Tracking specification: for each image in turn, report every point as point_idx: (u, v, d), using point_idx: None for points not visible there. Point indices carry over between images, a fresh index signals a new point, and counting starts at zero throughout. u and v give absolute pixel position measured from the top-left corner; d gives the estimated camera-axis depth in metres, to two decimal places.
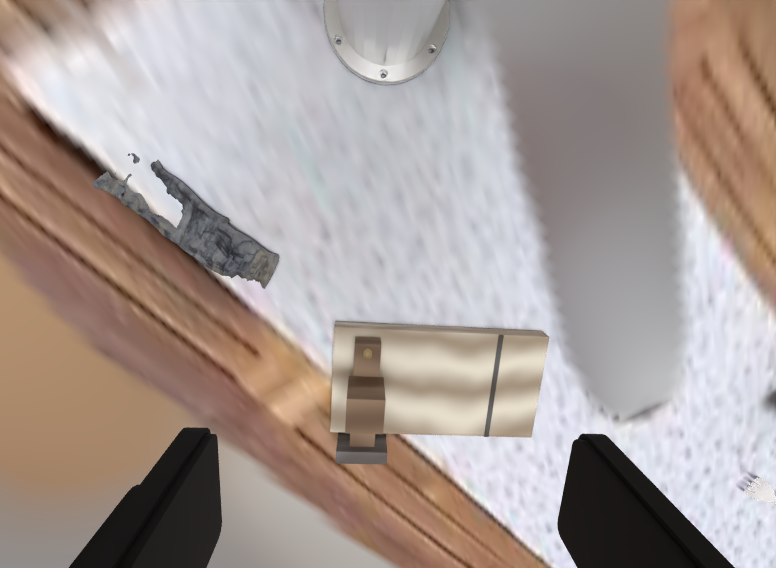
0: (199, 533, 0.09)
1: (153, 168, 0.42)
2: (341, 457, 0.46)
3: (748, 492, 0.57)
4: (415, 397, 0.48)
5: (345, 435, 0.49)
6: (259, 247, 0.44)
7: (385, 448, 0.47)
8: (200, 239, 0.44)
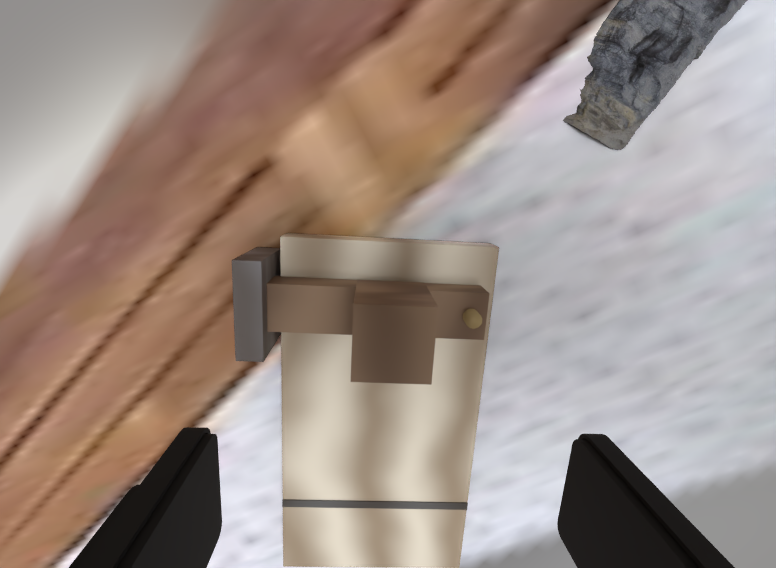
0: (199, 533, 0.09)
1: None
2: (247, 272, 0.22)
3: None
4: (357, 388, 0.27)
5: (275, 267, 0.25)
6: (644, 115, 0.25)
7: (266, 353, 0.24)
8: (666, 0, 0.24)
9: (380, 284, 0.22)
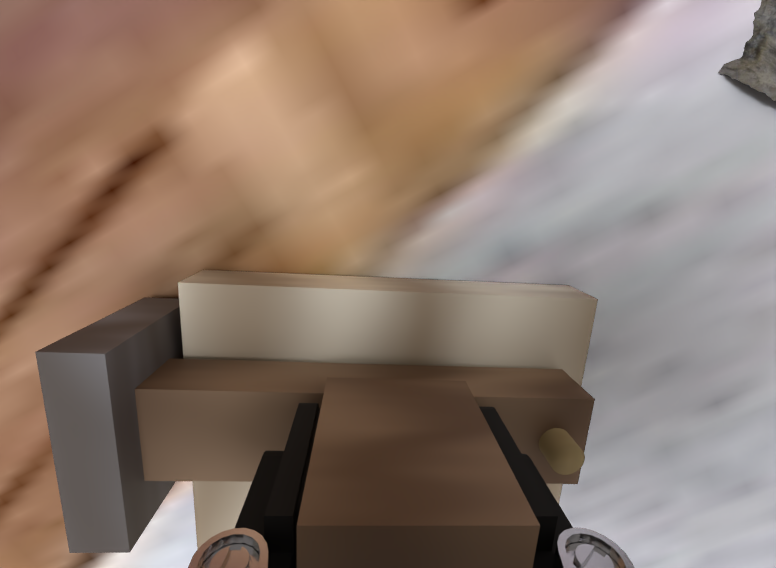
0: None
1: None
2: (75, 376, 0.10)
3: None
4: None
5: (171, 340, 0.13)
6: None
7: (144, 524, 0.12)
8: None
9: (375, 396, 0.10)
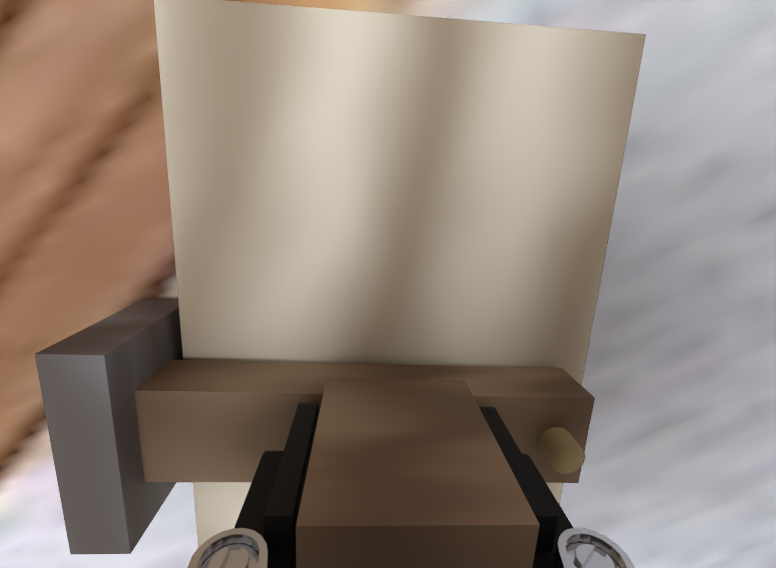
0: None
1: None
2: (74, 378, 0.10)
3: None
4: (339, 353, 0.13)
5: (170, 341, 0.13)
6: None
7: (145, 525, 0.12)
8: None
9: (374, 396, 0.10)
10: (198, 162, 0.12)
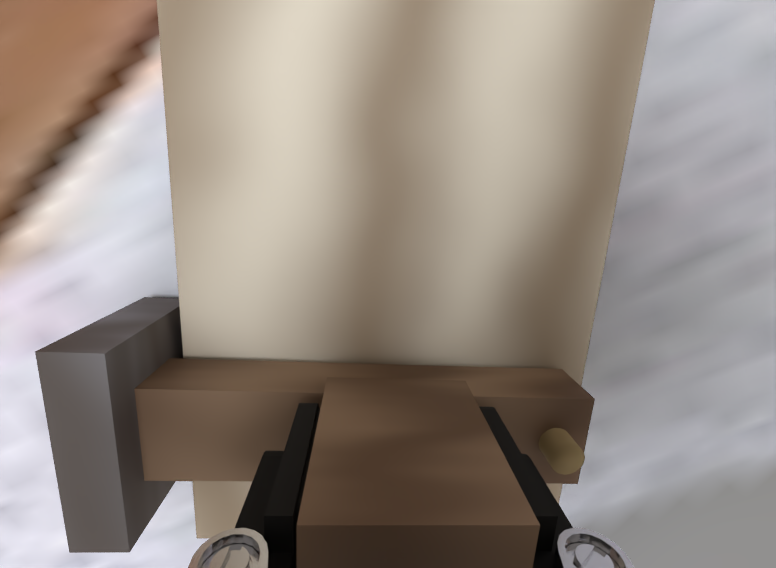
0: None
1: None
2: (74, 376, 0.10)
3: None
4: (346, 105, 0.12)
5: (171, 340, 0.13)
6: None
7: (144, 524, 0.12)
8: None
9: (375, 396, 0.10)
10: None
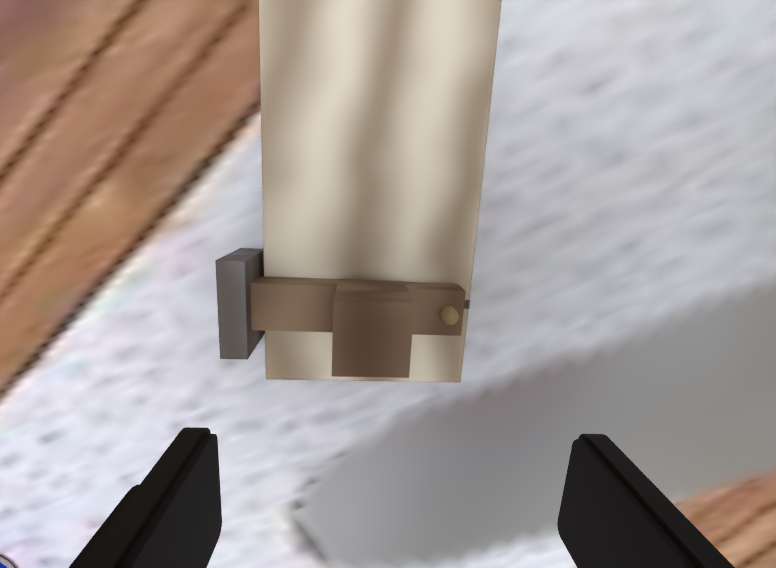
0: (199, 533, 0.09)
1: None
2: (231, 272, 0.22)
3: None
4: (347, 151, 0.24)
5: (258, 267, 0.26)
6: None
7: (251, 351, 0.24)
8: None
9: (360, 283, 0.23)
10: (275, 37, 0.23)
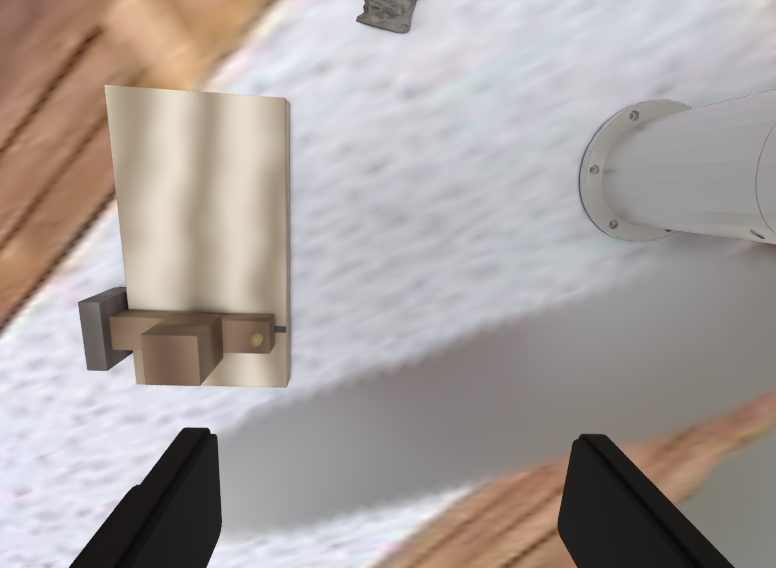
0: (199, 533, 0.09)
1: None
2: (89, 310, 0.32)
3: None
4: (181, 220, 0.34)
5: (123, 302, 0.35)
6: None
7: (112, 365, 0.34)
8: None
9: (184, 317, 0.32)
10: (122, 143, 0.32)
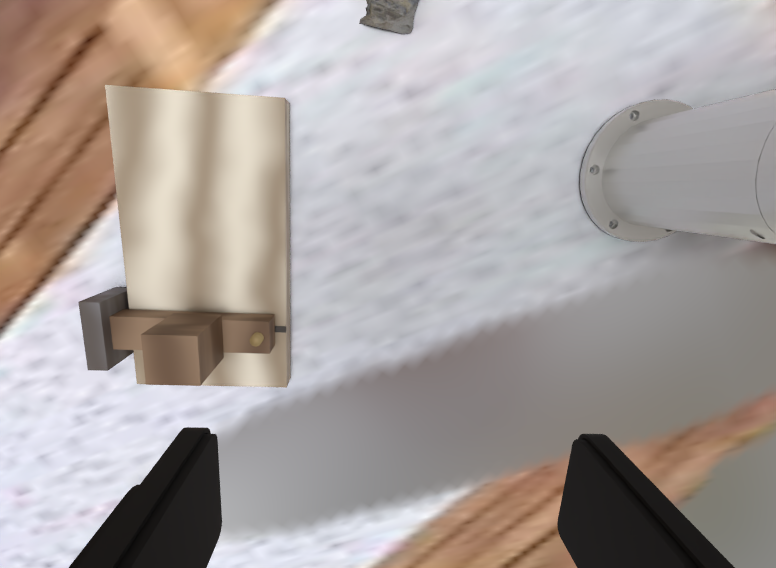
0: (199, 533, 0.09)
1: None
2: (90, 309, 0.32)
3: None
4: (182, 220, 0.34)
5: (124, 302, 0.35)
6: None
7: (113, 364, 0.34)
8: None
9: (184, 317, 0.32)
10: (122, 143, 0.32)
